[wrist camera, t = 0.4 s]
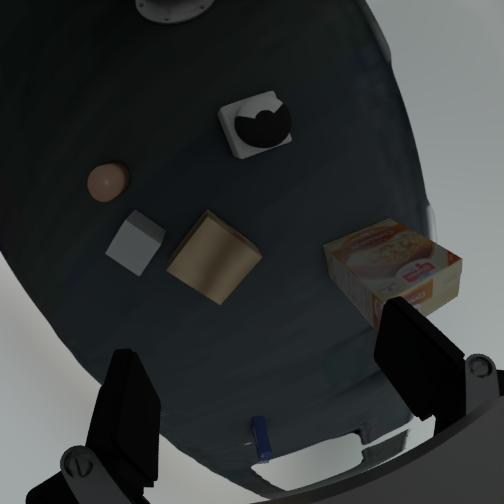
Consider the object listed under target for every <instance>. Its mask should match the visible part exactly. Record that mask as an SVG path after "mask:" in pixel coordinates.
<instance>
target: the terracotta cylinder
mask: <svg viewBox="0 0 504 504" xmlns="http://www.w3.org/2000/svg"><path fill="white" fill-rule="evenodd" d="M129 178H130V177H129V172H128V170H127V168H126V167H125V166H124V165H122V164H121V163H117V162H113V163H109V164H105V165H102V166H98V167H96V168H95V169H94V170H93V171H92V172H91V174H90V175H89V178H88V189H89V192H90V194H91V195H92V197H93V198H95V199H96V200H98V201H101V202H106V201H110V200H112V199H113V198H115V197H116V196H117V195H119V194H120V193H122V192H123V191H124V190H125V189H126V188H127V186H128V184H129Z"/></svg>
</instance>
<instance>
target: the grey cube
mask: <svg viewBox="0 0 504 504" xmlns="http://www.w3.org/2000/svg"><path fill="white" fill-rule="evenodd" d="M165 233H166V230H164V229H163V228H161V227H160V226H158V225H157V224H156V223H154V222H153V221H151V220H150V219H148V218H147V217H146V216H144V215H143V214H141V213H140V212H138V211H137V210H136V209H135V210H134V211H133V212H132V213H131V214H130V215H129V216H128V217H127V219H126V220H125V221H124V223H123V224H122V226H121V228H120V229H119V231H118V233H117V234H116V236H115V238H114V239H113V241H112V243H111V245H110V246H109V248H108V250H107V252H106V253H105V254H107V255H108V256H110V257H111V258H113V259H114V260H116V261H117V262H119V263H120V264H121V265H123V266H124V267H126V268H127V269H129V270H131V271H132V272H134V273H135V274H137V275H138V276H140V275H141V273H142V272H143V270H144V269H145V267H146V266H147V264H148V263H149V261H150V260H151V258H152V257H153V256H154V254H155V253H156V251H157V250H158V248H159V247H160V245H161V243H162V241H163V238H164V235H165Z"/></svg>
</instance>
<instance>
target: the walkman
mask: <svg viewBox="0 0 504 504" xmlns="http://www.w3.org/2000/svg"><path fill="white" fill-rule="evenodd" d="M251 433H252V437H253V442H254V446H255V451H256V455H257V459H258V463H259V464H262V463H268V462H269V460H270V456H271V453H272V450H271V446H270V442H269V439H268V435H267V431H266V428H265V424H264V420H263V416H262V417H253V418H252V426H251Z"/></svg>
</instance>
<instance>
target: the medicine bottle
mask: <svg viewBox="0 0 504 504" xmlns="http://www.w3.org/2000/svg"><path fill="white" fill-rule="evenodd" d="M217 115H218V118H219V120H220V123H221V125H222V128H223V130H224V133H225V135H226V138H227V140H228V143H229V145H230V148H231V150H232V153H233V155H234V156H235V157H237V158H240V159H244V158H247V157H249V156H252V155H255V154H257V153H260V152H263V151H266V150H268V149H271V148H274V147H277V146H280V145H283V144H286V143H289V142H291V140H292V139H291V136H290V130H291V124H292V122H291V115H290V113H289V110H288V109H287V107H286V106H285V105H284V104H283V103H282V102H281V101H280V100H278V99H277V98H276V95H275V93H274V92H273V91H269V92H266V93H262V94H259V95H256V96H253V97H250V98H246V99H243V100H240V101H237V102H234V103H232V104H229V105H226V106H223V107H221V109H220V110H219V112H218V114H217Z"/></svg>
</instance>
